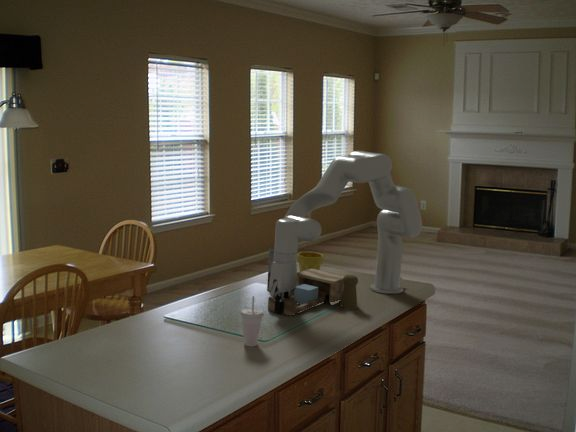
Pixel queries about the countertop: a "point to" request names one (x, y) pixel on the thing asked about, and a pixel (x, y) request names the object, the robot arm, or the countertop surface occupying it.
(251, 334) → the smoothie
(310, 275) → the tan boxy piece
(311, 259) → the plant pot
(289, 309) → the brown wooden frame
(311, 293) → the blue block
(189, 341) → the countertop surface
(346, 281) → the cork
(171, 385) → the countertop surface
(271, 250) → the coffee box
